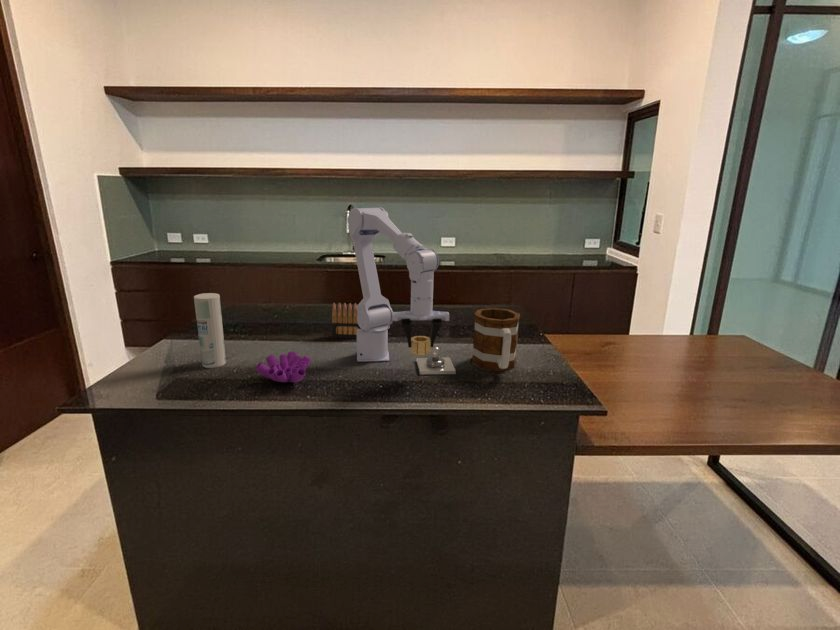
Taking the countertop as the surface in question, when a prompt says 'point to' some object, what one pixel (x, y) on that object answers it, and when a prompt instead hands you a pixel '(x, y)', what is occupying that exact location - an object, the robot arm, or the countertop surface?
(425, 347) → the brass ring
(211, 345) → the spray can
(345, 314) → the ammunition clip
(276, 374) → the purple tube coral
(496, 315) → the mug
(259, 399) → the countertop surface
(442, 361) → the piston stand
